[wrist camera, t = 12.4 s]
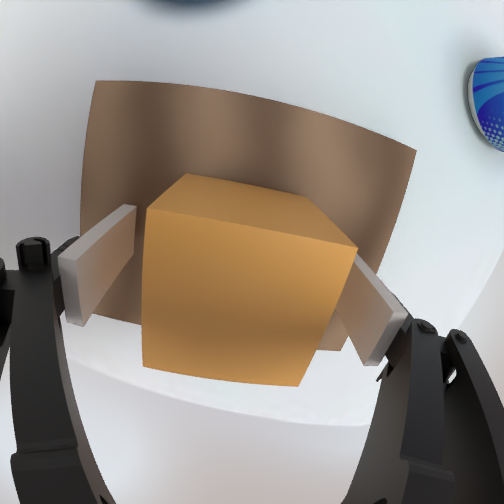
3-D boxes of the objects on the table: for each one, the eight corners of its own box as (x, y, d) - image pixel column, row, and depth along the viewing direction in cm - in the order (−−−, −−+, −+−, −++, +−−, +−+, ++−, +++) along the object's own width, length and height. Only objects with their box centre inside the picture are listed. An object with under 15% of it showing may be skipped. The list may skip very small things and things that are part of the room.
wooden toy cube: (172, 281, 17) (143, 366, 10) (186, 173, 14) (146, 208, 8) (277, 299, 17) (298, 386, 11) (306, 197, 15) (358, 248, 9)
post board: (95, 297, 20) (45, 376, 12) (109, 84, 14) (22, 63, 6) (333, 335, 23) (368, 419, 15) (400, 147, 17) (495, 169, 9)
